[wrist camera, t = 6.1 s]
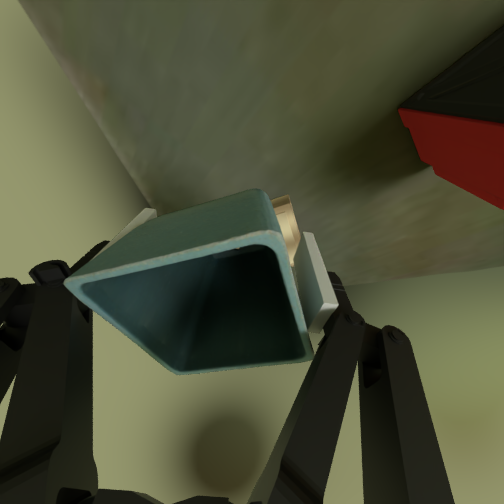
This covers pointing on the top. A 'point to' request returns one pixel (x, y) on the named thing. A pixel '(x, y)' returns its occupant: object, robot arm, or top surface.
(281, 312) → the flower pot
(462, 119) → the red mechanical box
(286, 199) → the oak stand
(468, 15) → the top surface
